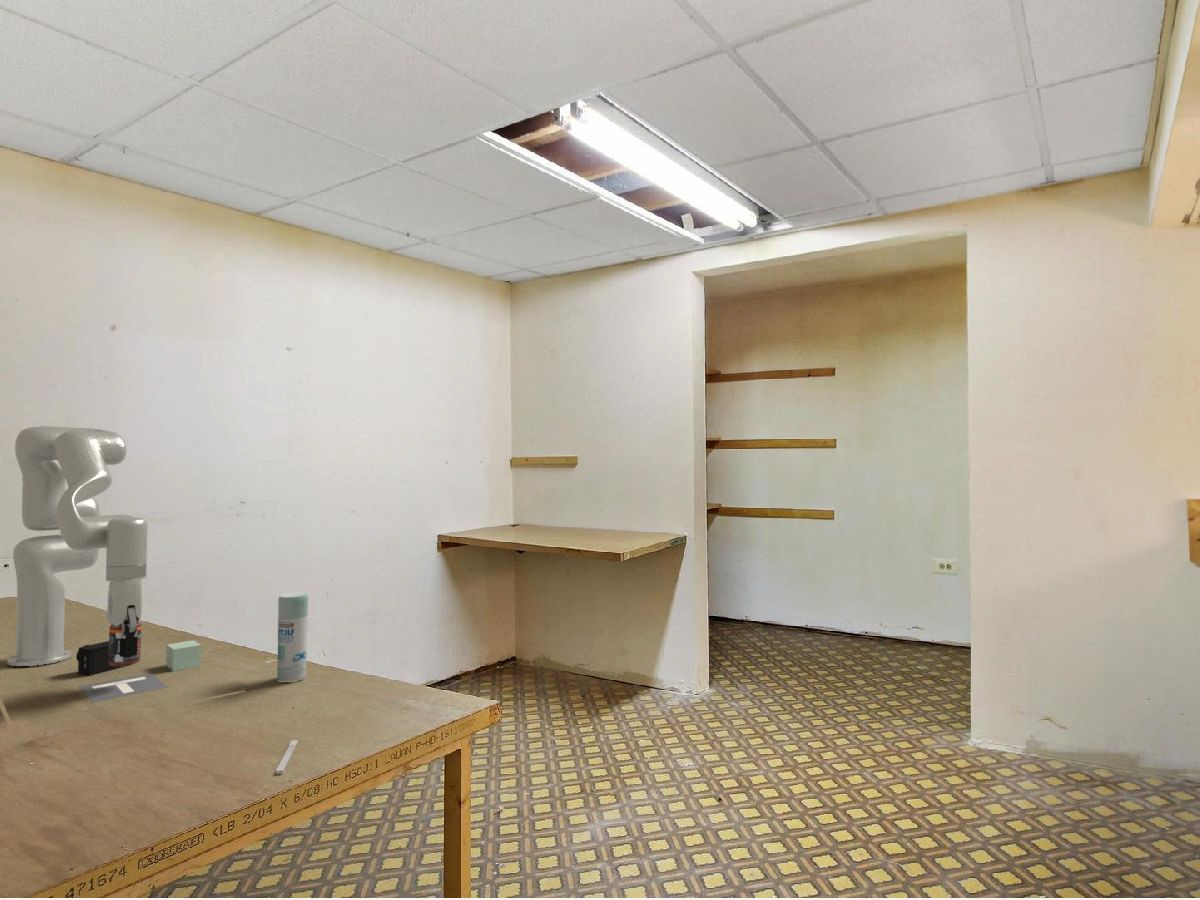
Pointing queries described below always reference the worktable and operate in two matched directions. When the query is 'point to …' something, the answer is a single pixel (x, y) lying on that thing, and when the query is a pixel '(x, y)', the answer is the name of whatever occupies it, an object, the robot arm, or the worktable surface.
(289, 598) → the spray paint can
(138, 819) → the worktable surface
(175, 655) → the sage block
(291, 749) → the light grey rod
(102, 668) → the digital camera
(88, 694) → the board
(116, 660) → the supplement bottle
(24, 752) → the worktable surface
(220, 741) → the worktable surface
